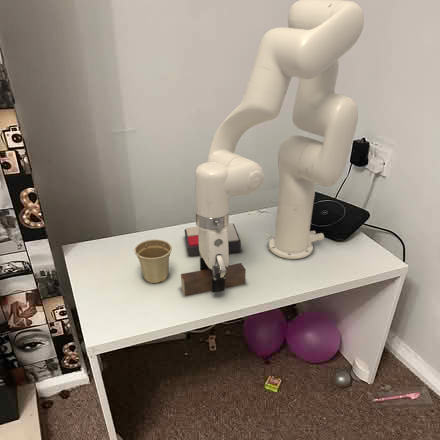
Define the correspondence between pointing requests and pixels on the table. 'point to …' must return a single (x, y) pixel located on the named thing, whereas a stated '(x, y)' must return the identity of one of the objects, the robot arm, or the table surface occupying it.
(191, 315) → the table surface
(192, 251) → the calculator
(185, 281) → the brown wooden block
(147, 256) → the flower pot
